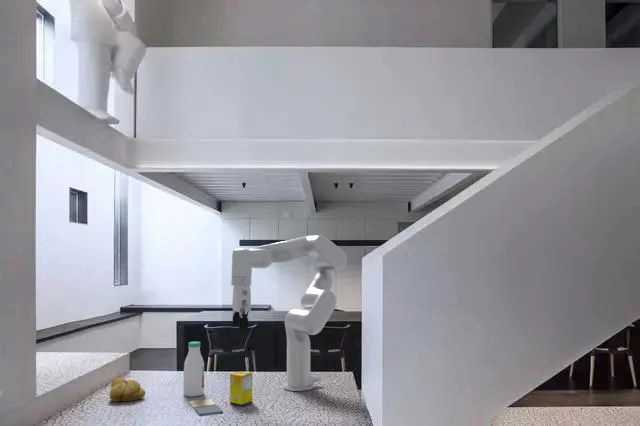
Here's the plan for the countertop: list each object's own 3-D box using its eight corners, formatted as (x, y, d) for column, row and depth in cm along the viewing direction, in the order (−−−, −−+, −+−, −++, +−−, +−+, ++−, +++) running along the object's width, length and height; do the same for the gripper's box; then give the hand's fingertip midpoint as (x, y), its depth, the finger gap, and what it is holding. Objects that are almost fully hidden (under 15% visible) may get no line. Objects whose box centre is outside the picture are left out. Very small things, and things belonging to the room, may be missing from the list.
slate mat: (217, 406, 196) (217, 405, 196) (222, 412, 189) (222, 411, 189) (194, 409, 193) (194, 407, 193) (199, 415, 185) (199, 413, 185)
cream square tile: (210, 400, 205) (210, 398, 205) (215, 405, 197) (215, 404, 197) (189, 402, 201) (189, 401, 201) (193, 408, 194) (193, 406, 194)
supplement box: (240, 400, 204) (241, 370, 205) (252, 403, 201) (253, 372, 202) (229, 404, 200) (229, 373, 200) (241, 406, 196) (241, 375, 197)
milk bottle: (198, 397, 208) (199, 344, 210) (179, 396, 210) (180, 343, 211) (207, 392, 216) (207, 341, 217) (188, 391, 217) (189, 340, 219)
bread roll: (147, 396, 211) (148, 375, 211) (140, 403, 201) (140, 381, 202) (113, 396, 210) (114, 375, 211) (104, 403, 201) (105, 381, 201)
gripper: (257, 282, 202) (256, 329, 200) (244, 280, 218) (243, 324, 216) (237, 282, 199) (236, 330, 197) (226, 280, 215) (224, 325, 213)
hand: (239, 327), depth 207 cm, fingers open, 9 cm apart
